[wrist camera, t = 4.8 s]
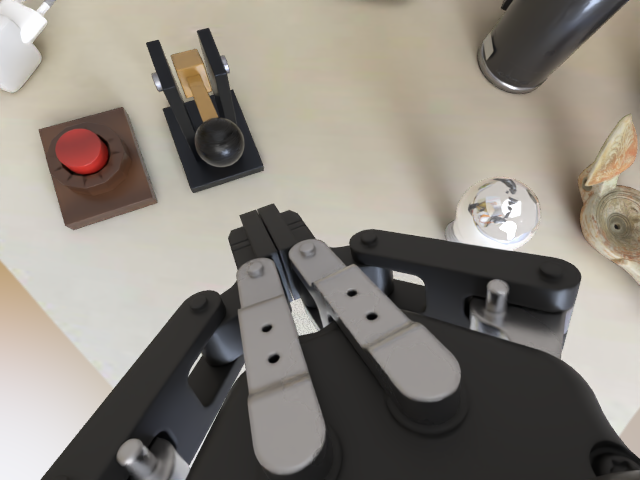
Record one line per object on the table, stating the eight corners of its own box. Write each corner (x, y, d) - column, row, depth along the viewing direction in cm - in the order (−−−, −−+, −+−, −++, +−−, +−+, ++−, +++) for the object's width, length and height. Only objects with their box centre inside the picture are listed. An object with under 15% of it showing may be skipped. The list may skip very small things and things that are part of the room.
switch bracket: (264, 170, 41) (257, 97, 29) (193, 193, 40) (153, 127, 27) (234, 95, 43) (215, -5, 30) (165, 114, 42) (115, 18, 29)
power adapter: (41, 9, 43) (5, -40, 38) (79, 26, 43) (49, -21, 38) (-21, 82, 40) (-69, 41, 35) (20, 100, 40) (-22, 62, 35)
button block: (157, 203, 39) (146, 190, 36) (73, 230, 38) (52, 219, 34) (128, 115, 41) (114, 95, 38) (47, 137, 40) (25, 118, 36)
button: (113, 167, 36) (105, 159, 35) (71, 180, 36) (60, 172, 34) (103, 132, 37) (94, 123, 35) (60, 144, 36) (50, 135, 35)
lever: (254, 167, 25) (244, 128, 23) (208, 182, 25) (192, 143, 22) (212, 78, 33) (201, 41, 30) (176, 88, 32) (161, 51, 30)
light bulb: (484, 271, 41) (564, 247, 30) (423, 264, 41) (481, 237, 29) (482, 212, 43) (558, 168, 32) (424, 205, 43) (480, 157, 31)
